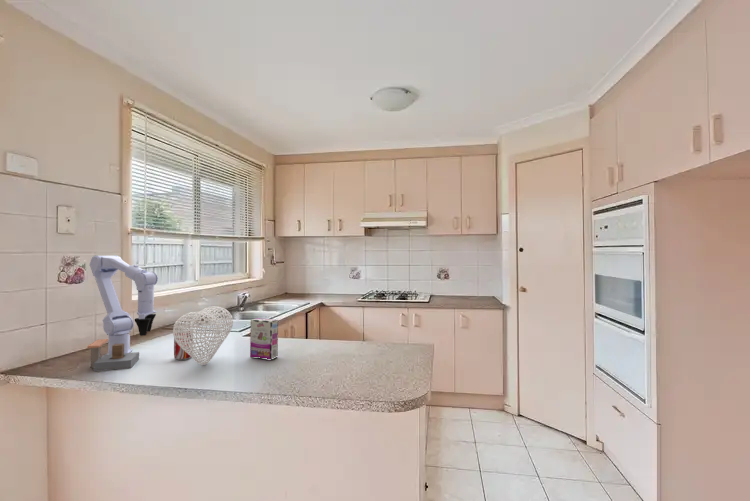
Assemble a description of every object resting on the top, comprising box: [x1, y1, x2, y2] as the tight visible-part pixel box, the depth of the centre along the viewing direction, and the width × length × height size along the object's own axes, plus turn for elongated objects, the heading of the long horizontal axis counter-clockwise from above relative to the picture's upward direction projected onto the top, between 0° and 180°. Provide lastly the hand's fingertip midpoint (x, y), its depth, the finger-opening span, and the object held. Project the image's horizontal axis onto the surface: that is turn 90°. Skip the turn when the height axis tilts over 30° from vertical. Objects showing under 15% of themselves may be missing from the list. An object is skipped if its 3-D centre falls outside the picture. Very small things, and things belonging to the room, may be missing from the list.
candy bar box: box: [249, 317, 279, 359], centre depth 158 cm, size 11×5×16 cm, turn 68°
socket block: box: [86, 338, 140, 372], centre depth 145 cm, size 12×14×9 cm
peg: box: [112, 343, 124, 359], centre depth 146 cm, size 3×3×8 cm
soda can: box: [173, 328, 194, 361], centre depth 156 cm, size 7×7×12 cm
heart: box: [172, 305, 234, 366], centre depth 147 cm, size 28×16×22 cm, turn 177°
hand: (145, 333), depth 155 cm, fingers open, 7 cm apart
